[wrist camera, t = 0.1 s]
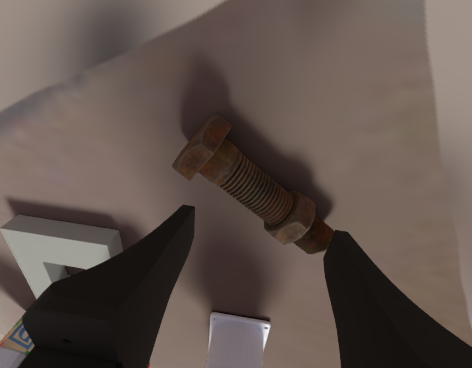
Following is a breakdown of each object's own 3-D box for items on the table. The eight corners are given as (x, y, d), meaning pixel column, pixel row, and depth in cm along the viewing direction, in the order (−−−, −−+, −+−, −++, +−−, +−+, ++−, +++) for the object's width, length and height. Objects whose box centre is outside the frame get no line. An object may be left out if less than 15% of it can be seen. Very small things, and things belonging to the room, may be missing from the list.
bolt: (310, 221, 27) (197, 128, 23) (352, 213, 23) (224, 98, 19) (294, 272, 24) (161, 177, 20) (338, 273, 20) (184, 155, 16)
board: (133, 305, 36) (125, 321, 34) (53, 291, 37) (40, 306, 35) (118, 230, 29) (107, 245, 27) (18, 214, 30) (-1, 228, 28)
